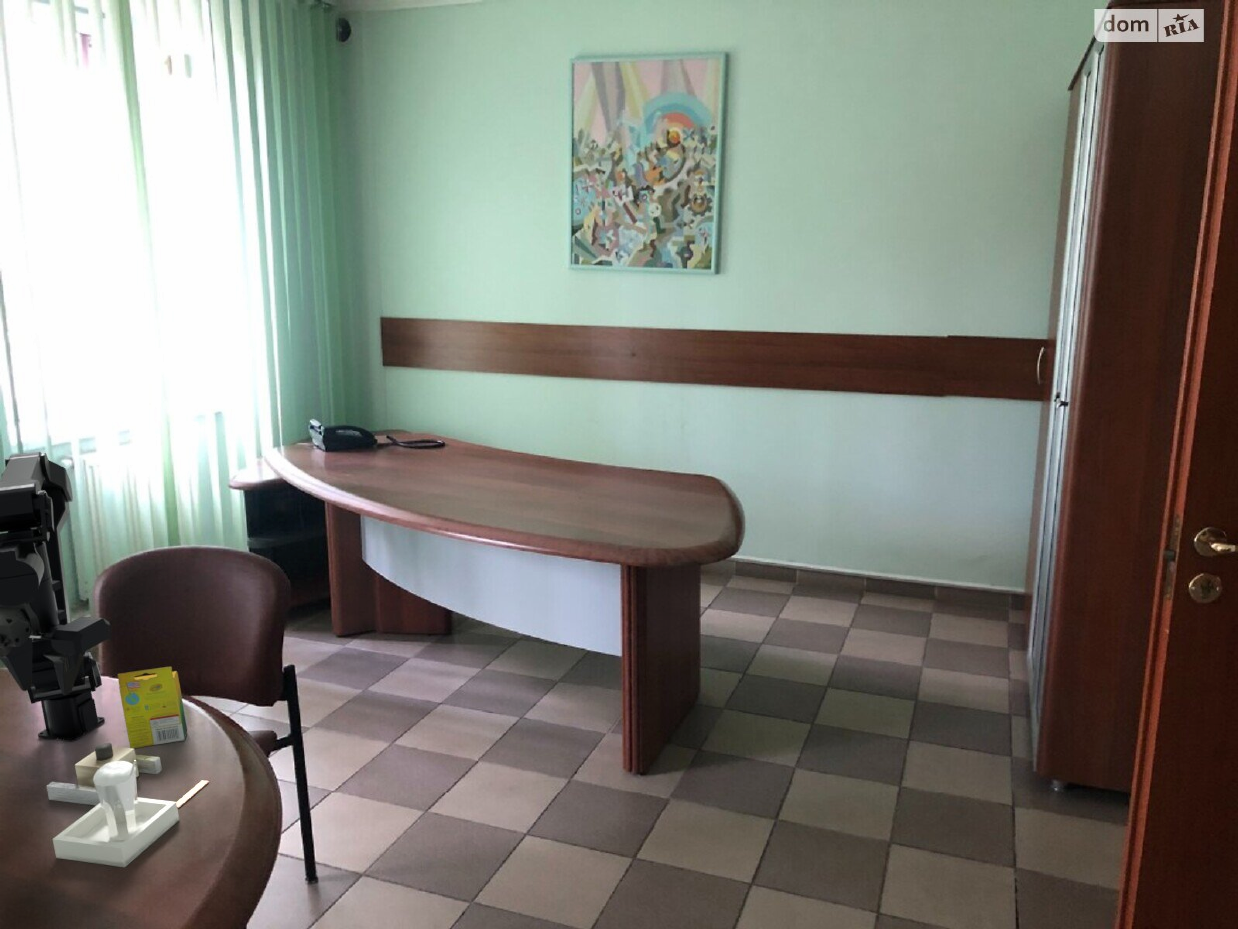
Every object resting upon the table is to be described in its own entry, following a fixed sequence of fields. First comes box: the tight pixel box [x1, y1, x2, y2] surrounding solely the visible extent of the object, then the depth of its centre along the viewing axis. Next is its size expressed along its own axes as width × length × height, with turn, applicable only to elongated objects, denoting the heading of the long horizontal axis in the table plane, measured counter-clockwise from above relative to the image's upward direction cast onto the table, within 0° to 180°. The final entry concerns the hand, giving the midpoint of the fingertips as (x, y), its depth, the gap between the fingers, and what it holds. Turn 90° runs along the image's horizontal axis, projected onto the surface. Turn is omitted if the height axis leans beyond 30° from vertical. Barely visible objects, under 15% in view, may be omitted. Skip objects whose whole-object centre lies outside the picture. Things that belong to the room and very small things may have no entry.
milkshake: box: [93, 760, 140, 841], centre depth 116 cm, size 4×5×10 cm
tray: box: [52, 796, 180, 868], centre depth 117 cm, size 10×10×2 cm
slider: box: [74, 742, 140, 787], centre depth 129 cm, size 5×5×6 cm
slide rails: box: [46, 754, 210, 809], centre depth 128 cm, size 18×9×2 cm, turn 76°
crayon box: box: [117, 666, 188, 749], centre depth 139 cm, size 7×3×12 cm, turn 105°
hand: (46, 691), depth 128 cm, fingers open, 6 cm apart
